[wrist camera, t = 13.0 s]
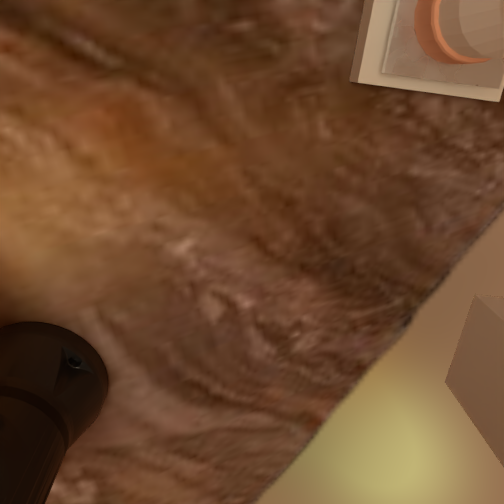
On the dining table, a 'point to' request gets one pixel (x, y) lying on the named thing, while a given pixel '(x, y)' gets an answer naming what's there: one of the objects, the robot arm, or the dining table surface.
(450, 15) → the salt shaker
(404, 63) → the scale pan
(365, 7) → the scale base
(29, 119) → the dining table surface
